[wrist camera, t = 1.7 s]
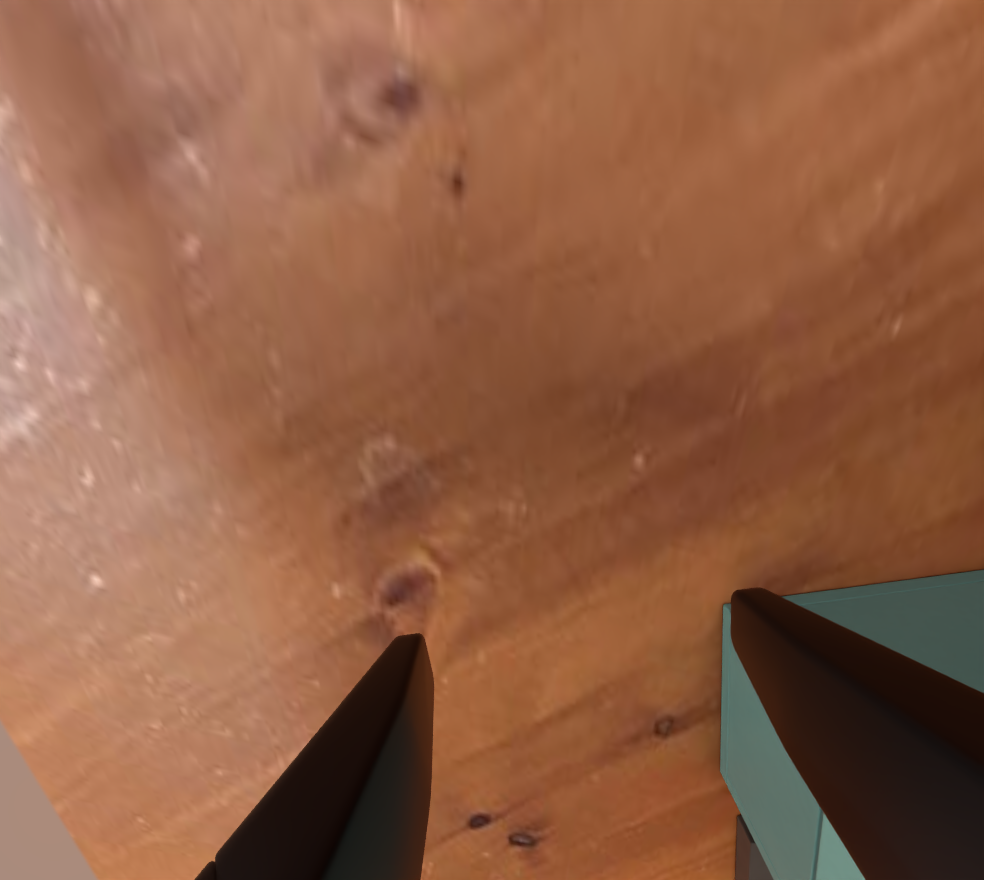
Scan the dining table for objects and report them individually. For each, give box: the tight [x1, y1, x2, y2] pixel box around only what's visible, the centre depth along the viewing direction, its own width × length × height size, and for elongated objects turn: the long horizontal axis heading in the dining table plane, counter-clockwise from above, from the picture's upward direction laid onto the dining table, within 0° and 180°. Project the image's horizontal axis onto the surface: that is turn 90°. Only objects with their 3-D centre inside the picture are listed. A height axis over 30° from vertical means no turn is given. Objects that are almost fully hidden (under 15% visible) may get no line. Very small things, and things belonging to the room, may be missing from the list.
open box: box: [720, 570, 984, 880], centre depth 21 cm, size 14×12×7 cm
